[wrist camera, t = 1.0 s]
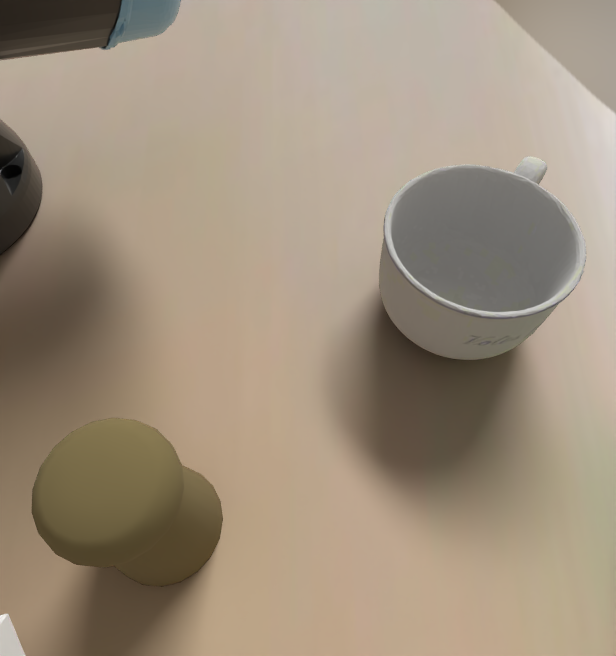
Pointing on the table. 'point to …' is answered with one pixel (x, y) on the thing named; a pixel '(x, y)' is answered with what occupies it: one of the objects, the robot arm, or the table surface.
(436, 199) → the teacup
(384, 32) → the table surface
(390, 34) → the table surface
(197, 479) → the olive pawn
